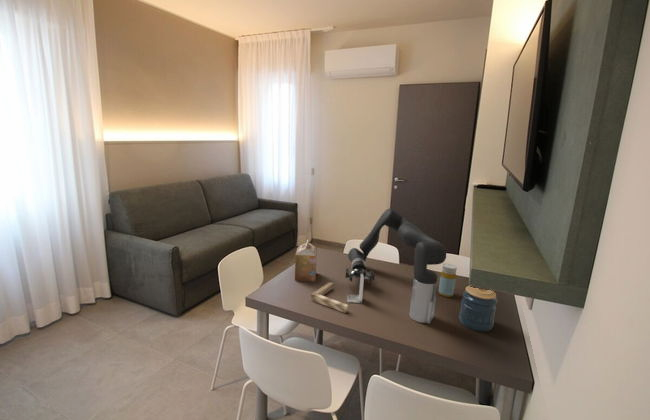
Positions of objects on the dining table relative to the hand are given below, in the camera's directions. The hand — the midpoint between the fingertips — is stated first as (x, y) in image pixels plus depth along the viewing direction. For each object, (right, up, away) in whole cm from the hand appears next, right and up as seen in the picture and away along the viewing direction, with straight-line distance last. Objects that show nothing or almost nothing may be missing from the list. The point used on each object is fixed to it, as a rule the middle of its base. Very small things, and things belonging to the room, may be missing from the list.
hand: (360, 280), depth 148 cm
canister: (+46, -14, -19) cm, 51 cm away
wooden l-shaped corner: (-12, -8, -5) cm, 15 cm away
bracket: (-3, -8, -5) cm, 10 cm away
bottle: (+43, -8, +5) cm, 44 cm away
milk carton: (-27, -2, +18) cm, 33 cm away
